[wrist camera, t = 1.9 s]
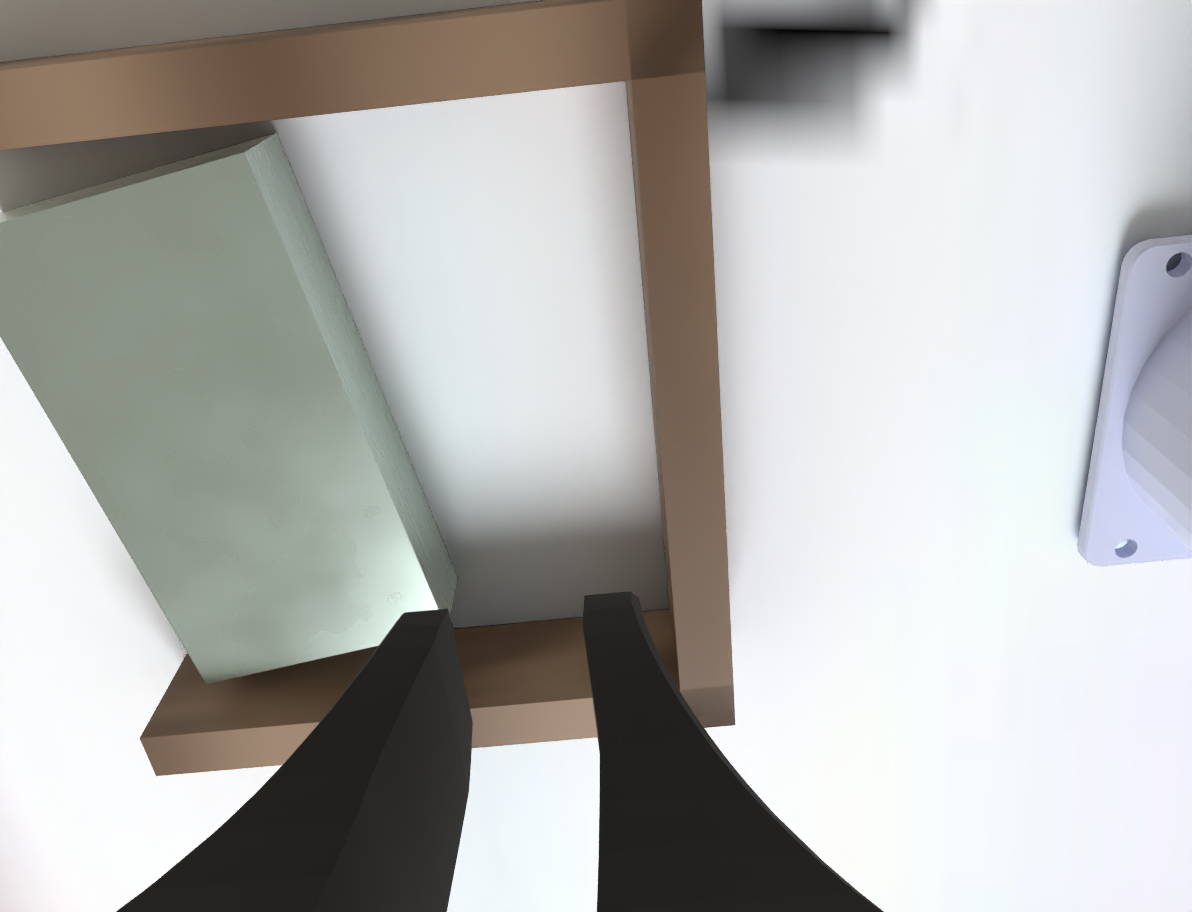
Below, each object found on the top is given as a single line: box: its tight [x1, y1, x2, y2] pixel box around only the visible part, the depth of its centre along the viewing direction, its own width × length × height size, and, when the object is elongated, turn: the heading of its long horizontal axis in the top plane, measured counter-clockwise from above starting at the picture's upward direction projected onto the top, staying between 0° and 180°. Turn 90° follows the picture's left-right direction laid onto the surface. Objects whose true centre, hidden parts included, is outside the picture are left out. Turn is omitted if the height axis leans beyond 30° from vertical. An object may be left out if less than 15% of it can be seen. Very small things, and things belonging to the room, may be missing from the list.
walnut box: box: [0, 0, 735, 776], centre depth 20 cm, size 14×15×3 cm
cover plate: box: [0, 133, 458, 684], centre depth 21 cm, size 6×11×2 cm, turn 15°
